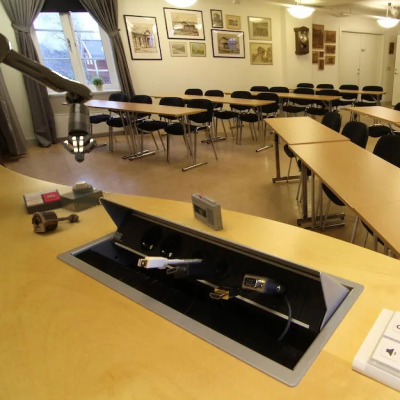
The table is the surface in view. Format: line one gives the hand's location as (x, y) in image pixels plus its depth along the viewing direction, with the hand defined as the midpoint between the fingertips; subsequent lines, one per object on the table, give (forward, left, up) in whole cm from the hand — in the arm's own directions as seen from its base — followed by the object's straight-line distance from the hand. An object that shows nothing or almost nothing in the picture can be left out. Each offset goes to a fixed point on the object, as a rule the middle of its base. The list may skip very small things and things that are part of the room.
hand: (79, 161), depth 129 cm
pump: (-4, -4, -9) cm, 11 cm away
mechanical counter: (-21, -18, -17) cm, 32 cm away
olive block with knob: (-5, -5, -16) cm, 18 cm away
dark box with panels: (-12, +9, -17) cm, 22 cm away
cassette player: (+6, -60, -17) cm, 63 cm away
